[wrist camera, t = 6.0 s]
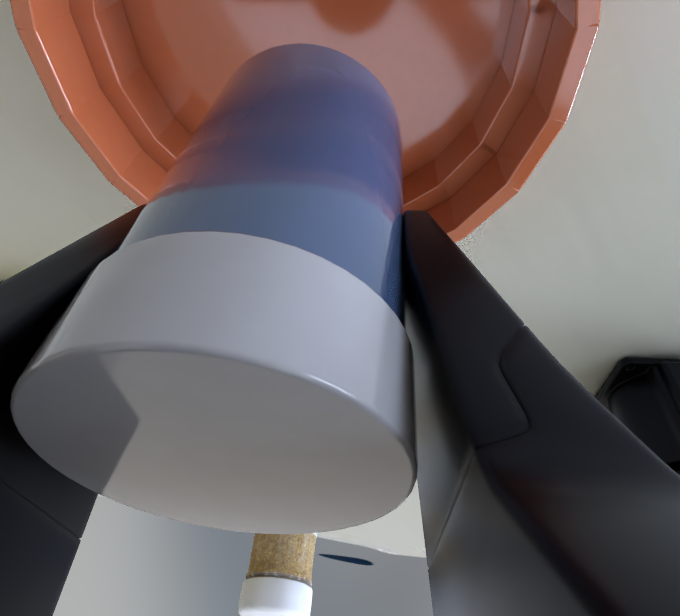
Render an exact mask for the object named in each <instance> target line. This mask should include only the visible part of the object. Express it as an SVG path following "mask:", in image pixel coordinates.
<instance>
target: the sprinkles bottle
mask: <svg viewBox="0 0 680 616" xmlns="http://www.w3.org/2000/svg"><path fill="white" fill-rule="evenodd" d="M316 537H317V533H307V534H262V533H255V536H254V542H253V548H252V553H251V559H250V565H249V571H248V573H247V575H246V580H245V581H244V582H243V585H242V590H241V596H240V602H239V608H238V612H239V614H240V615H241V616H310V610H311V602H312V589H311V586H312V581H311V575H312V567H313V556H314V549H315V541H316Z"/></svg>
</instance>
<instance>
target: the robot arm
mask: <svg viewBox="0 0 680 616" xmlns="http://www.w3.org/2000/svg"><path fill="white" fill-rule="evenodd" d="M145 206H146V204H143V205H141V206H139V207H137V208H135V209H133V210H132V211H130V212H128V213H126V214H124V215H123V216H121V217H119V218H117V219H115V220H114V221H112V222H110V223H108V224H106V225H105V226H103V227H101V228H99V229H97V230H95V231H94V232H92V233H90V234H88V235H86V236H85V237H83V238H81V239H79V240H77V241H76V242H74V243H72V244H70V245H68V246H66V247H65V248H63V249H61V250H59V251H57V252H56V253H54V254H52V255H50V256H48V257H47V258H45V259H43V260H41V261H39V262H38V263H36V264H34V265H32V266H30V267H28V268H27V269H25V270H23V271H21V272H19V273H18V274H16V275H14V276H12V277H10V278H9V279H7V280H5V281H3V282H1V283H0V616H52V615H53V613H54V610H55V607H56V605H57V602H58V600H59V597H60V594H61V592H62V589H63V586H64V584H65V581H66V578H67V576H68V573H69V570H70V568H71V565H72V562H73V560H74V557H75V555H76V552H77V549H78V546H79V544H80V539H79V538H81V537H82V535H83V532H84V530H85V527H86V524H87V522H88V519H89V516H90V514H91V511H92V508H93V506H94V503H95V500H96V498H97V495H98V493H96V492H94V491H92V490H90V489H88V488H86V487H84V486H82V485H81V484H79V483H77V482H75V481H74V480H72V479H70V478H68V477H67V476H65V475H64V474H62V473H61V472H59V471H58V470H56V469H55V468H53V467H52V466H50V465H49V464H48V463H47V462H46V461H44V460H43V459H42V458H41V457H39V456H38V455H37V454H36V453H35V452H34V451H33V450H32V449H31V448H30V447H29V446H28V445H27V444H26V442H25V441H24V440H23V438H22V437H21V435H20V434H19V433H18V431H17V429H16V427H15V425H14V422H13V420H12V416H11V410H10V402H11V396H12V389H13V387H14V385H15V384H16V382H17V380H18V378H19V376H20V375H21V373H22V372H23V371H24V369H25V368H26V366H27V365H28V363H29V362H30V360H31V359H32V357H33V356H34V354H35V353H36V352H37V350H38V349H39V347H40V346H41V344H42V343H43V341H44V340H45V338H46V337H47V335H48V334H49V332H50V331H51V330H52V328H53V327H54V325H55V324H56V322H57V321H58V319H59V318H60V316H61V315H62V313H63V312H64V311H65V309H66V308H67V306H68V305H69V303H70V302H71V300H72V299H73V297H74V296H75V294H76V293H77V291H78V290H79V289H80V287H81V286H82V284H83V283H84V281H85V280H86V278H87V277H88V275H89V274H90V273H91V272H92V271H93V270H94V269H95V268H96V267H97V266H98V265H99V263H100V262H102V261H103V260H105V259H106V258H108V257H109V256H110V255H112V254H113V253H115V251H116V250H117V248H118V247H119V245H120V244H121V242H122V241H123V239H124V238H125V236H126V235H127V233H128V232H129V230H130V229H131V227H132V226H133V224H134V223H135V221H136V220H137V218H138V217H139V215H140V213H141V212H142V210H143V209H144V207H145ZM403 236H404V271H405V312H406V332H407V335H408V337H409V340H410V342H411V345H412V350H413V356H414V368H415V396H416V423H417V451H418V473H417V481H418V489H419V498H420V506H421V514H422V523H423V531H424V539H425V548H426V556H427V564H428V567H429V570H428V572H429V581H430V590H431V598H432V606H433V614H434V616H680V360H674V359H653V358H625V359H622V360H621V361H620V362H619V363H618V364H617V366H616V367H615V369H614V370H613V372H612V373H611V375H610V376H609V378H608V379H607V380H606V382H605V383H604V385H603V386H602V388H601V389H600V391H599V392H598V394H597V395H596V396H595V397H594V396H593V395H592V394H590V393H589V392H588V391H587V390H586V389H585V388H584V387H583V386H582V385H581V384H580V383H579V382H578V381H577V380H576V379H575V378H574V377H573V376H572V375H571V374H570V373H569V372H568V371H567V370H566V369H565V368H564V367H563V366H562V365H561V364H560V363H559V362H558V361H557V360H556V359H555V357H554V356H553V355H552V354H551V353H550V352H549V351H548V350H547V349H546V348H545V346H544V345H543V344H542V343H541V342H540V341H539V340H538V339H537V338H536V336H535V335H534V334H533V333H532V332H531V331H530V329H529V328H528V327H527V326H524V323H523V322H522V320H521V319H520V318H519V317H518V316H517V315H516V313H515V312H514V311H513V310H512V309H511V308H510V306H509V305H508V304H507V303H506V302H505V301H504V300H503V298H502V297H501V296H500V295H499V294H498V293H497V291H496V290H495V289H494V288H493V287H492V286H491V284H490V283H489V282H488V281H487V280H486V279H485V277H484V276H483V275H482V274H481V273H480V272H479V271H478V269H477V268H476V267H475V266H474V265H473V264H472V262H471V261H470V260H469V259H468V258H467V257H466V255H465V254H464V253H463V252H462V251H461V250H460V248H459V247H458V246H457V245H456V244H455V243H454V242H453V240H452V239H451V238H450V237H449V236H448V235H447V233H446V232H445V231H444V230H443V229H442V228H441V226H440V225H439V224H438V223H437V222H436V221H435V219H434V218H433V217H432V216H431V215H430V214H429V213H428V212H427V211H425V210H406V211H405V212H404V215H403Z"/></svg>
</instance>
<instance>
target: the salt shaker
mask: <svg viewBox="0 0 680 616" xmlns="http://www.w3.org/2000/svg"><path fill="white" fill-rule="evenodd" d="M10 410H11V416H12V420H13V422H14V425H15V427H16V429H17V431H18V433H19V434H20V435H21V437H22V438H23V440H24V441H25V442H26V444H27V445H28V446H29V447H30V448H31V449H32V450H33V451H34V452H35V453H36V454H37V455H38V456H39V457H41V458H42V459H43V460H44V461H46V462H47V463H48V464H49V465H50V466H52V467H53V468H55V469H56V470H58V471H59V472H61V473H62V474H64V475H65V476H67V477H68V478H70V479H72V480H74V481H75V482H77V483H79V484H81V485H82V486H84V487H86V488H88V489H90V490H92V491H94V492H96V493H98V494H100V495H103V496H105V497H107V498H110V499H112V500H114V501H117V502H119V503H122V504H124V505H127V506H130V507H133V508H135V509H138V510H141V511H144V512H148V513H151V514H154V515H158V516H161V517H165V518H168V519H172V520H176V521H181V522H185V523H189V524H193V525H199V526H205V527H210V528H216V529H223V530H229V531H239V532H248V533H262V534H307V533H318V532H327V531H333V530H340V529H345V528H349V527H353V526H358V525H361V524H364V523H367V522H370V521H373V520H375V519H377V518H380V517H382V516H384V515H386V514H388V513H389V512H391V511H393V510H394V509H396V508H397V507H398V506H399V505H400V504H402V503H403V502H404V501H405V500H406V498H407V497H408V496H409V494H410V493H411V492H412V489H413V487H414V484H415V482H416V479H417V473H418V451H417V423H416V396H415V368H414V356H413V350H412V345H411V342H410V340H409V337H408V335H407V332H406V312H405V271H404V236H403V175H402V135H401V127H400V122H399V118H398V115H397V111H396V109H395V107H394V104H393V102H392V100H391V98H390V96H389V95H388V93H387V91H386V90H385V88H384V87H383V85H382V84H381V83H380V82H379V80H378V79H377V78H376V77H375V76H374V75H373V74H372V73H371V72H370V71H369V70H368V69H367V68H366V67H364V66H363V65H362V64H360V63H359V62H357V61H356V60H355V59H353V58H351V57H349V56H347V55H345V54H344V53H342V52H339V51H337V50H334V49H331V48H328V47H324V46H320V45H315V44H303V43H296V44H285V45H280V46H276V47H272V48H269V49H267V50H264V51H262V52H260V53H258V54H256V55H254V56H253V57H251V58H249V59H248V60H247V61H246V62H244V63H243V64H242V65H241V66H240V67H238V69H237V70H236V71H235V72H234V73H233V74H232V76H231V77H230V78H229V80H228V81H227V83H226V84H225V86H224V87H223V89H222V90H221V92H220V93H219V95H218V96H217V98H216V99H215V101H214V102H213V104H212V106H211V107H210V109H209V110H208V112H207V113H206V115H205V116H204V118H203V119H202V121H201V122H200V124H199V125H198V127H197V128H196V130H195V131H194V133H193V134H192V136H191V137H190V139H189V141H188V142H187V144H186V145H185V147H184V148H183V150H182V151H181V153H180V154H179V156H178V157H177V159H176V160H175V162H174V163H173V165H172V166H171V168H170V169H169V171H168V172H167V174H166V175H165V177H164V179H163V180H162V182H161V183H160V185H159V186H158V188H157V189H156V191H155V192H154V194H153V195H152V197H151V198H150V200H149V201H148V203H147V204H146V206H145V207H144V209H143V210H142V212H141V213H140V215H139V217H138V218H137V220H136V221H135V223H134V224H133V226H132V227H131V229H130V230H129V232H128V233H127V235H126V236H125V238H124V239H123V241H122V242H121V244H120V245H119V247H118V248H117V250H116V251H115V253H113V254H112V255H110V256H109V257H108V258H106V259H105V260H103V261H102V262H100V263H99V265H98V266H97V267H96V268H95V269H94V270H93V271H92V272H91V273H90V274H89V275H88V277H87V278H86V280H85V281H84V283H83V284H82V286H81V287H80V289H79V290H78V291H77V293H76V294H75V296H74V297H73V299H72V300H71V302H70V303H69V305H68V306H67V308H66V309H65V311H64V312H63V313H62V315H61V316H60V318H59V319H58V321H57V322H56V324H55V325H54V327H53V328H52V330H51V331H50V332H49V334H48V335H47V337H46V338H45V340H44V341H43V343H42V344H41V346H40V347H39V349H38V350H37V352H36V353H35V354H34V356H33V357H32V359H31V360H30V362H29V363H28V365H27V366H26V368H25V369H24V371H23V372H22V373H21V375H20V376H19V378H18V380H17V382H16V384H15V385H14V387H13V389H12V396H11V402H10Z"/></svg>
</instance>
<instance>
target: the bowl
mask: <svg viewBox="0 0 680 616" xmlns="http://www.w3.org/2000/svg"><path fill="white" fill-rule="evenodd" d="M10 3H11V8H12V13H13V17H14V22H15V26H16V27H17V32H18V34H19V36H20V38H21V40H22V42H23V44H24V46H25V48H26V51H27V53H28V55H29V57H30V59H31V61H32V63H33V65H34V67H35V69H36V72H37V74H38V76H39V78H40V80H41V82H42V84H43V86H44V88H45V90H46V93H47V95H48V97H49V99H50V101H51V103H52V105H53V107H54V109H55V111H56V113H57V115H58V116H59V119H60V120H61V121H62V122H63V124H64V125H65V126H66V128H67V129H68V130H69V131H70V133H71V134H72V135H73V136H74V138H75V139H76V140H77V142H78V143H79V144H80V145H81V147H82V148H83V149H84V150H85V152H86V153H87V154H88V156H89V157H90V158H91V159H92V161H93V162H94V163H95V164H96V166H97V167H98V168H99V170H100V171H101V172H102V173H103V175H104V176H105V177H106V178H107V180H108V181H109V182H111V184H112V185H113V186H115V187H116V188H117V189H118V190H119V191H121V192H122V193H123V194H124V195H125V196H127V197H128V198H129V199H130V200H132V201H133V202H134V203H135V204H136V205H138V206H141V205H143V204H147V203H148V201H149V200H150V198H151V197H152V195H153V194H154V192H155V191H156V189H157V188H158V186H159V185H160V183H161V182H162V180H163V179H164V177H165V175H166V174H167V172H168V171H169V169H170V168H171V166H172V165H173V163H174V162H175V160H176V159H177V157H178V156H179V154H180V153H181V151H182V150H183V148H184V147H185V145H186V144H187V142H188V141H189V139H190V137H191V136H192V134H193V133H194V131H195V130H196V128H197V127H198V125H199V124H200V122H201V121H202V119H203V118H204V116H205V115H206V113H207V112H208V110H209V109H210V107H211V106H212V104H213V102H214V101H215V99H216V98H217V96H218V95H219V93H220V92H221V90H222V89H223V87H224V86H225V84H226V83H227V81H228V80H229V78H230V77H231V76H232V74H233V73H234V72H235V71H236V70H237V69H238V67H240V66H241V65H242V64H243V63H244V62H246V61H247V60H248V59H249V58H251V57H253V56H254V55H256V54H258V53H260V52H262V51H264V50H267V49H269V48H272V47H276V46H280V45H285V44H296V43H303V44H315V45H320V46H324V47H328V48H331V49H334V50H337V51H339V52H342V53H344V54H345V55H347V56H349V57H351V58H353V59H355V60H356V61H357V62H359V63H360V64H362V65H363V66H364V67H366V68H367V69H368V70H369V71H370V72H371V73H372V74H373V75H374V76H375V77H376V78H377V79H378V80H379V82H380V83H381V84H382V85H383V87H384V88H385V90H386V91H387V93H388V95H389V96H390V98H391V100H392V102H393V104H394V107H395V109H396V111H397V115H398V118H399V122H400V127H401V135H402V175H403V215H404V212H405V211H406V210H425V211H427V212H428V213H429V214H430V215H431V216H432V217H433V218H434V219H435V221H436V222H437V223H438V224H439V225H440V226H441V228H442V229H443V230H444V231H445V232H446V233H447V235H448V236H449V237H450V238H451V239H452V240H453V242H454V243H455V242H458V241H460V240H462V239H463V238H465V237H466V236H467V235H469V234H470V233H471V232H472V231H473V230H474V229H476V228H477V227H478V226H479V225H480V224H481V223H483V222H484V221H485V220H486V219H487V218H488V217H490V216H491V215H492V214H493V213H494V212H495V211H497V210H498V209H499V208H500V207H501V206H502V205H504V204H505V203H506V202H507V201H508V200H509V199H511V198H512V197H513V196H514V195H515V194H516V193H518V191H519V190H520V189H521V188H522V186H523V185H524V183H525V182H526V180H527V179H528V177H529V176H530V174H531V173H532V172H533V170H534V169H535V167H536V166H537V164H538V163H539V161H540V160H541V158H542V157H543V155H544V154H545V152H546V151H547V149H548V148H549V147H550V145H551V144H552V142H553V141H554V139H555V138H556V136H557V135H558V133H559V132H560V130H561V129H562V127H563V126H564V125H565V123H566V120H567V119H568V117H569V114H570V111H571V108H572V105H573V102H574V99H575V96H576V93H577V90H578V87H579V84H580V81H581V78H582V75H583V72H584V69H585V66H586V63H587V60H588V57H589V55H590V52H591V49H592V46H593V43H594V40H595V37H596V34H597V31H598V28H599V22H600V8H601V0H10Z"/></svg>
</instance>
